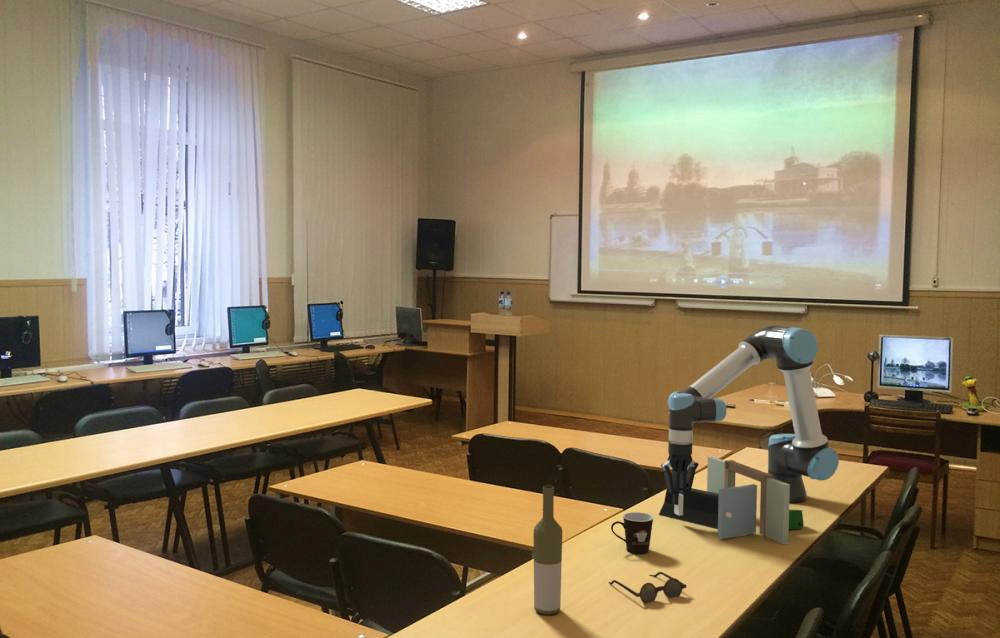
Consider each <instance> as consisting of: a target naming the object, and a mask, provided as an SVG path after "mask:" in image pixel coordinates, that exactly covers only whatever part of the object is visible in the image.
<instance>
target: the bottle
mask: <svg viewBox="0 0 1000 638" xmlns="http://www.w3.org/2000/svg"><path fill="white" fill-rule="evenodd" d="M554 495H555V486H554V485H549V484H547V485H543V486H542V517H541V519H540V521H538V522H537V524H536V525H535V526H534V527H533V528H534V529H533V601H534V602H533V607H534V611H535V612H537V613H539V614H542V615H554V614H558V613H559V612H560V611H561V602H562V601H561V597H562V596H561V595H562V594H561V593H562V564H563V563H562V559H563V556H562V555H563V527H562V526H561V525H560V524H559V523H558V521H557V520H556V519H555V518H554V512H555V511H554V509H555V507H554V506H555V505H554V503H555V501H554V497H555V496H554Z"/></svg>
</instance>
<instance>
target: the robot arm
mask: <svg viewBox="0 0 1000 638" xmlns="http://www.w3.org/2000/svg"><path fill="white" fill-rule="evenodd" d="M818 351H819V344H818V340H817V338H816V336H815V335H814V333H812V332H811V331H809V330H808V329H806V328H803V327H802V328H801V327H798V326H783V325H780V326H779V325H769V326H768V325H767V326H764V327H762V328H760V329H758V330H757V331H754V332H753V333H752V334H750V335H749V336H747V337H746V338H744V339H743V340H742V341H740V342H739V344H738V348H737V349H735V350H734V351H733V352H731V353H730V354H728V355H727V357H725V358H723V359H722V360H721V361H719V363H717V364H716V365H715V366H714V367H712V368H711V369H709V370H708V371H707V372H706V373H704V374H703V375H702V376H701V377H700V378H699V379H697V380H695V381H694V382H693V383H692V384H690V385H689V386H688V387H686V388H685V389H684V390H682V391H674V392H672V393H671V394H670V395H669V396H668V399H667V406H668V414H669V415H668V443H667V444H668V445H667V446H668V448H667V449H668V451H667V453H668V458H667V461H666V462H665V463H661V465H660V467H661V469H662V470H663V474H664V475H663V476H664V481H665V486H666V489H667V491H668V492H670V493H672V494H673V504H674V513H675V514H677V515H679V516H680V515H683V504H685V495H687V494H688V492H691V489H692V488H693V483H694V480H695V475H696V471H697V468H698V467H699V465H700V464H699V462H697V461H694V460H693V456H692V455H693V443H692V442H693V440H694V439H693V438H694V437H693V435H694V434H693V433H694V432H693V430H694V424H695V423H700V424H701V423H716V422H721V421H723V420H724V419H725V418H726V416H727V410H728V409H727V405H726V402H725V401H724V400H723V399H721V398H714V397H713V396H715V395H716V394H718V393H719V392H720V391H722V390H723V389H724V388H726V386H728V385H730V383H731V382H733V381H734V380H735V379H736V378H738V377H739V376H740V375H741V374H743V373H744V372H745V371H746V370H748V369H749V368H750V367H752V366H753V365H754V366H757V365H759V364H760V363H762V362H763V361H765V360H769V359H771V360H775V363H776V369H777V370H778V371H779V372H782V374H783V378H784V384H785V389H786V395H787V399H788V405H789V410H790V414H791V420H792V426H793V431H794V433H778V434H773V435H770V437H769V439H768V445H767V449H768V451H767V455H768V456H767V459H768V460H767V473H770V474H772V475H773V479H776V480H779V481H781V482H784V483H787V484H790V497H789V504H790V503H802V502H805V501H807V495H808V493H807V490H806V487H805V484H804V483H805V482H804V481H803V476H805V477H808V478H810V479H811V480H817V481H826V480H829V479H830V478H832V477H833V476H834V475H835V473H836V471H837V470H838V468H839V464H840V457H839V455H838V453H837V450H835V449H833V448H831V447H830V445H829V440H828V437H827V436H826V435H824V434H823V432H822V428H821V427H822V426H821V424H820V423H821V422H820V418H819V412H818V406H817V402H816V397H815V396H816V395H815V391H814V384H813V380H812V375H811V368H812V367H813V366H814V360H815V358H816V357H817V353H818Z"/></svg>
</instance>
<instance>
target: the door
mask: <svg viewBox="0 0 1000 638" xmlns="http://www.w3.org/2000/svg"><path fill="white" fill-rule="evenodd" d="M757 500H758V485H757V484H746V485H738V486H735V487H731V488H724V489H719V502H718V529H717V539H720V540H723V539H729V538H735V537H740V536H741V537H742V536H746V535H751V534H756V533H757V509H758V508H757V507H758V506H757V502H758V501H757Z"/></svg>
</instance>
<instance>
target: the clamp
mask: <svg viewBox="0 0 1000 638" xmlns="http://www.w3.org/2000/svg"><path fill="white" fill-rule="evenodd" d="M804 525H805V524H804V515H803V510H801V509H794V508H793V509H790V508H789V530H798V529H802V528H803V527H804Z"/></svg>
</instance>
